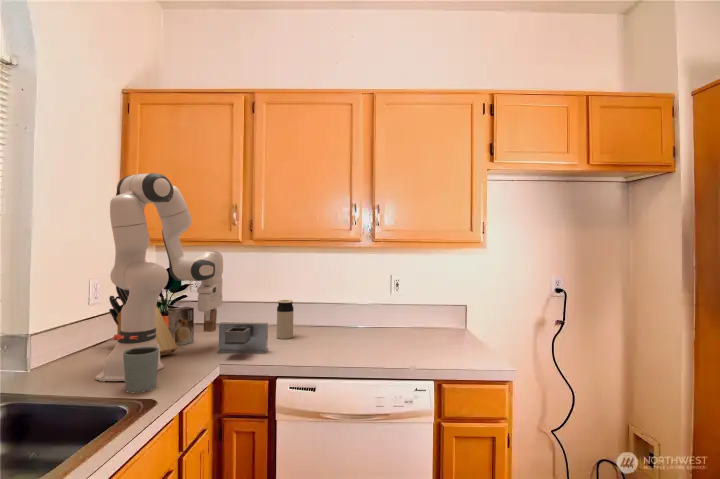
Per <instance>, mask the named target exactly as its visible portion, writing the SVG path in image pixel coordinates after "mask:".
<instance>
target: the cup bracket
mask: <svg viewBox="0 0 720 479" xmlns="http://www.w3.org/2000/svg"><path fill="white" fill-rule="evenodd" d="M268 334H269V323H268V322H238V321H237V322H235V321H234V322H233V321H231V322H227V321H222V322H219V324H218V350H217V351H216V353H217V354H256V355H257V354H259V355H261V354H263V355H264V354H266V353H267V352H268V351H269V347H268V341H269V339H268V338H269V336H268Z"/></svg>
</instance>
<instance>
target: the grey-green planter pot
mask: <svg viewBox="0 0 720 479" xmlns="http://www.w3.org/2000/svg"><path fill="white" fill-rule="evenodd" d="M158 355H159V348H157V347H139V348H133V349H129V350H126V351H124V352H123V359H124V372H125V381H124V383H125V392H126V391H128V392H127V393H129V392H142V393H144V392H143V391H147V392H149V391H148V390H150V391H152V390H154V389H155V388H156V387H157V379H158V378H157V377H158V370H157V367H158ZM153 388H154V389H153ZM151 389H152V390H151Z"/></svg>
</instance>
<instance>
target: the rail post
mask: <svg viewBox="0 0 720 479" xmlns="http://www.w3.org/2000/svg"><path fill="white" fill-rule="evenodd" d="M217 314H218V310H210V316H211V319H210V320H205V313H204V312H203V315H204V317H203V332H204V333H206V332H207V333H208V332H209V333H213V332H215V331H217V316H218V315H217Z"/></svg>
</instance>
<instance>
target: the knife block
mask: <svg viewBox="0 0 720 479" xmlns="http://www.w3.org/2000/svg"><path fill="white" fill-rule="evenodd" d="M115 291H116V294H117V296H116V297H115V296H114V295H109V302H110V305H111V307H112V308H109V310H108V311H109V313H110V314H111V317H112V319H113V320H114V322H115V324H116V326H117V334H116V335H118V334H119V332H120V330H121V310H122V307H123V306H124V305H125V304H126V302H127V300H128V296H129V290H124V289H121V288H119V287H118V286H116V285H115ZM118 300H120V302H121V303H122V304H119V303H118ZM166 323H167V322H166V321H165V319H164V317H163V315H162V313H161V312H160V309H159V307H158V305H157V304H156V312H155V328H156V331H157V333H156V338H155V340H156V342H157V343H158V344H159V349H160V357H162V356H166V355H171V354H174V353H176V352H177V350H178V346H177V345H176V343H175V341H174V339H173V337H172V335H171V333H170V331H169V329H168V326H167V325H168V324H166ZM117 343H118V342H117V341H116V344H117Z"/></svg>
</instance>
